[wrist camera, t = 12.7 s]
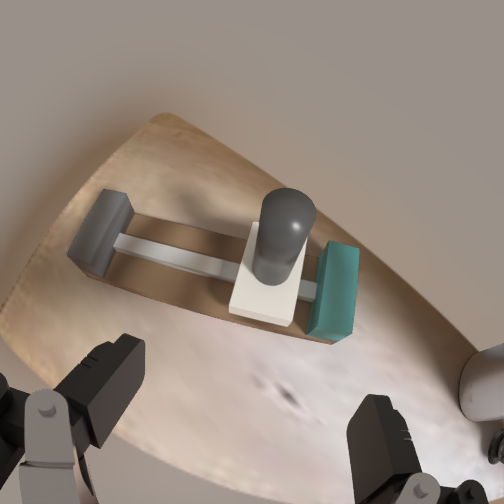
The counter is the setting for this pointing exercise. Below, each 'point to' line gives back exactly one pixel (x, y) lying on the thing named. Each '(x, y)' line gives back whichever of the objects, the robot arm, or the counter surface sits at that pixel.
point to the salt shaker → (497, 448)
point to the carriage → (274, 258)
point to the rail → (208, 269)
